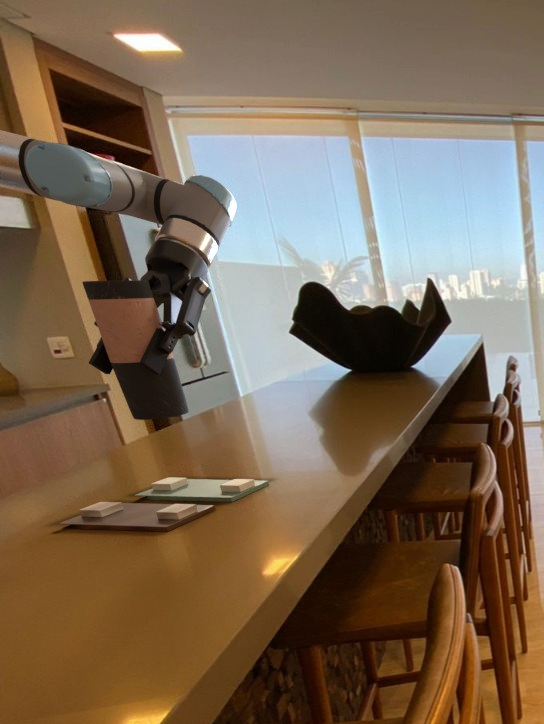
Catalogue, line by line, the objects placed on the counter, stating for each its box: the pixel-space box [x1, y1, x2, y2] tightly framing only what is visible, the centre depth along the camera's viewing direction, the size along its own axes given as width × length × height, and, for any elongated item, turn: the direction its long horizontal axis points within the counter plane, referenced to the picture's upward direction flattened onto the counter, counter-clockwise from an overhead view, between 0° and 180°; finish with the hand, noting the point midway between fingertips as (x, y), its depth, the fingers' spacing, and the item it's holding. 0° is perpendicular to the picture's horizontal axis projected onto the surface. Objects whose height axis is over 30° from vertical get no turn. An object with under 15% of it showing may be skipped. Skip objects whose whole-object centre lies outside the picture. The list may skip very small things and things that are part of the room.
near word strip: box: [59, 501, 216, 533], centre depth 88 cm, size 18×9×2 cm, turn 85°
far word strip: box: [135, 476, 270, 503], centre depth 100 cm, size 18×9×2 cm, turn 85°
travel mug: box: [82, 280, 190, 421], centre depth 87 cm, size 8×8×20 cm
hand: (124, 368), depth 85 cm, fingers closed on travel mug, 8 cm apart
